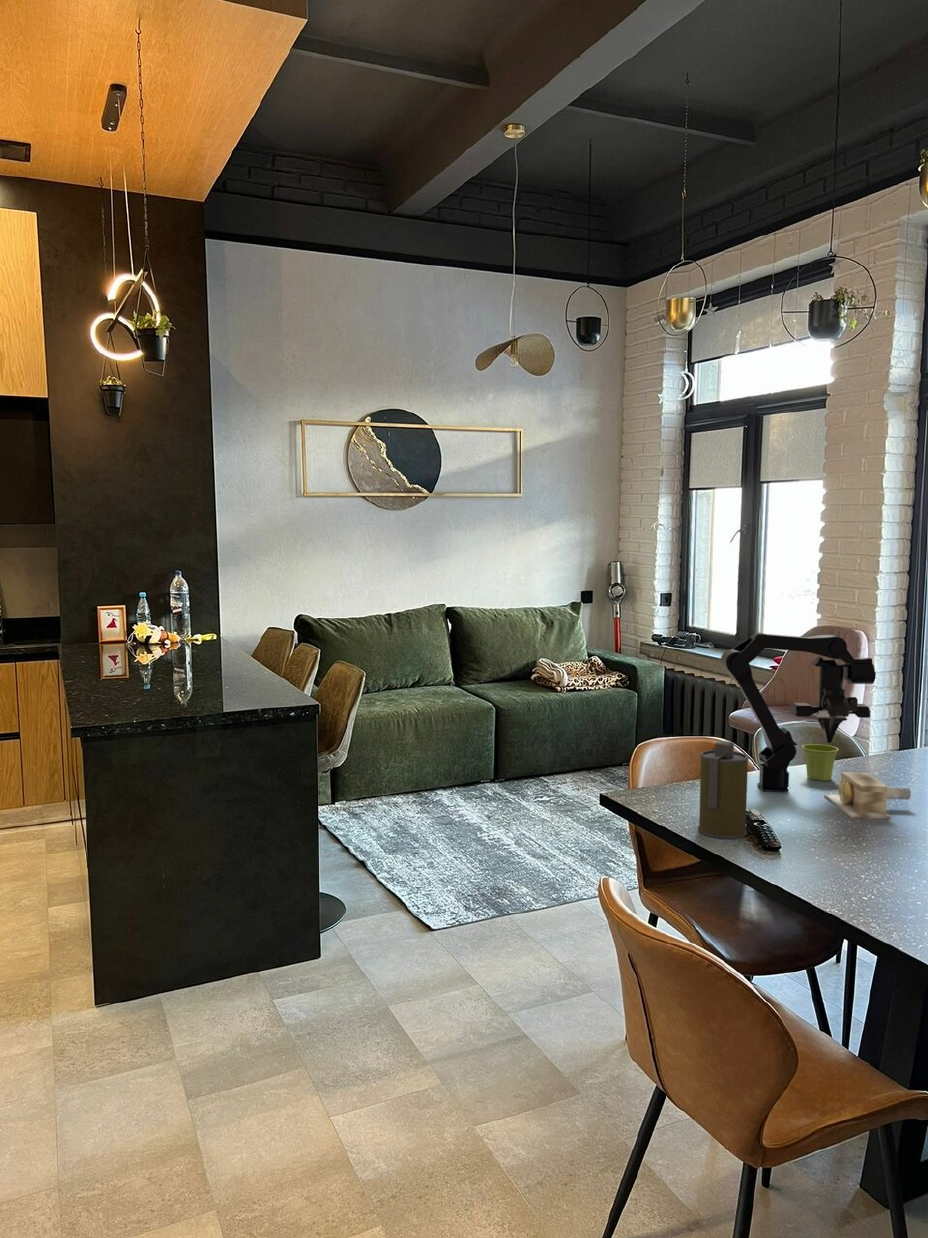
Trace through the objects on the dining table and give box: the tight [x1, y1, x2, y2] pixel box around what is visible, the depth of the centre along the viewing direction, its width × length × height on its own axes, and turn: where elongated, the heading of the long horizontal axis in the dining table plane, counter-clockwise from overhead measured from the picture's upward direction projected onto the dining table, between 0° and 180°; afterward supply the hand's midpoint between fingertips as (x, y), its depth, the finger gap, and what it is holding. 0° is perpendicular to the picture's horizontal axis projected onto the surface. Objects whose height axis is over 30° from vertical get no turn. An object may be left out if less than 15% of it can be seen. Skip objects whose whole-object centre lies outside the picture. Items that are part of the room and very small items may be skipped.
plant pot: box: [801, 743, 840, 782], centre depth 248 cm, size 9×9×9 cm
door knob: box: [838, 781, 911, 803], centre depth 220 cm, size 16×5×5 cm, turn 87°
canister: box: [697, 740, 750, 840], centre depth 200 cm, size 11×10×20 cm
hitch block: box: [824, 771, 891, 820], centre depth 220 cm, size 9×18×7 cm, turn 177°
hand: (828, 742), depth 235 cm, fingers closed
